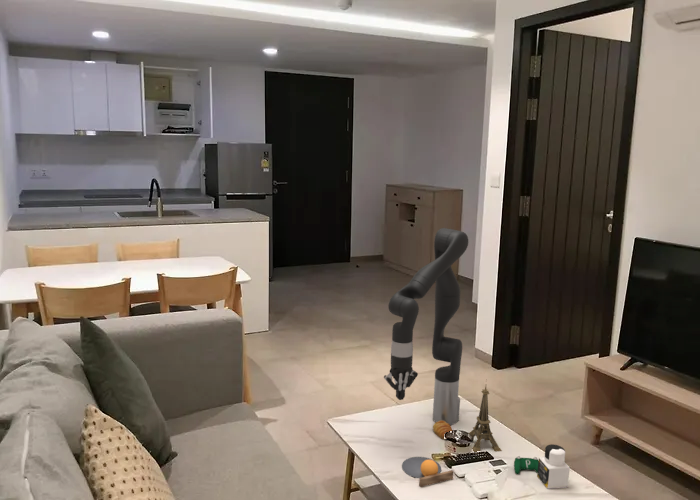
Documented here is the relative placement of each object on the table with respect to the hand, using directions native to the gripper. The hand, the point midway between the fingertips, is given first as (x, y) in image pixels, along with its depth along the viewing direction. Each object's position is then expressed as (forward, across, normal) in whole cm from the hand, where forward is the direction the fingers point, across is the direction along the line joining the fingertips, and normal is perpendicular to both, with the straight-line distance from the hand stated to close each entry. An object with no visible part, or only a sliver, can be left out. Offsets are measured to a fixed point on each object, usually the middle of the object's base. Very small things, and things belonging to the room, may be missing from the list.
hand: (400, 398), depth 208 cm
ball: (+14, +1, +22) cm, 26 cm away
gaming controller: (+18, -31, +32) cm, 48 cm away
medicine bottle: (+17, -34, +40) cm, 55 cm away
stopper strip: (+17, +1, +26) cm, 31 cm away
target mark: (+17, +1, +17) cm, 24 cm away
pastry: (+18, -19, 0) cm, 26 cm away
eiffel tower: (+18, -27, +12) cm, 35 cm away
